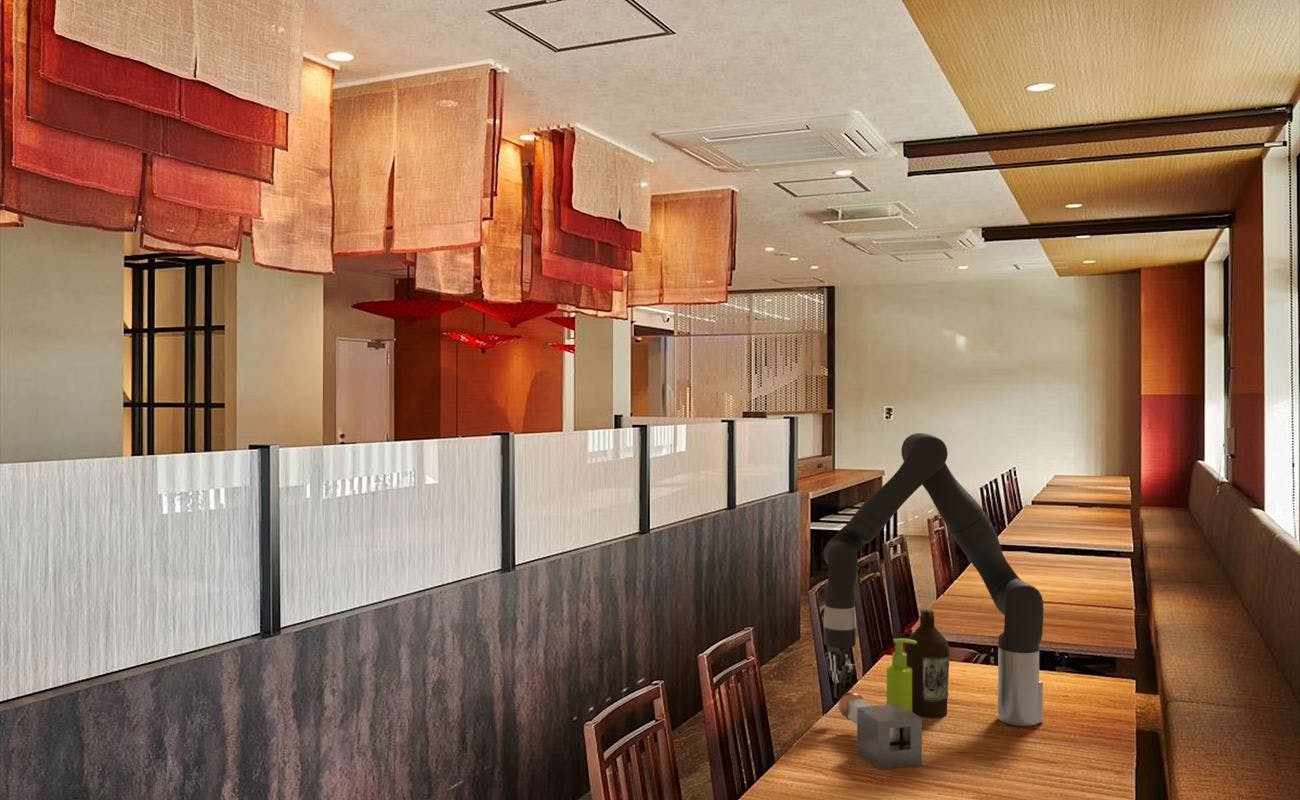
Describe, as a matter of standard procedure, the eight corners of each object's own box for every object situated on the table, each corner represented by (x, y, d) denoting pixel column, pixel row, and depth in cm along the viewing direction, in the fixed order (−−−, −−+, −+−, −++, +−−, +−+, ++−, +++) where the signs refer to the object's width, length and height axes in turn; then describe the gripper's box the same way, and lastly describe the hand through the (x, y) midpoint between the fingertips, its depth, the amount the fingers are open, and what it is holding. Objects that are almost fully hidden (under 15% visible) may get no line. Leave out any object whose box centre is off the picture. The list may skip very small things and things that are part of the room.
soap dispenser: (917, 728, 243) (917, 642, 243) (886, 726, 244) (887, 641, 244) (916, 720, 248) (916, 637, 248) (886, 718, 250) (886, 635, 250)
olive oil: (896, 708, 258) (896, 607, 258) (934, 704, 261) (934, 604, 261) (919, 721, 248) (919, 616, 248) (958, 716, 251) (958, 613, 251)
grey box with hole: (899, 749, 229) (899, 703, 228) (921, 765, 219) (921, 717, 219) (857, 753, 226) (857, 707, 226) (878, 769, 216) (878, 721, 216)
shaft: (862, 716, 242) (862, 691, 242) (904, 745, 222) (904, 717, 222) (838, 718, 240) (838, 693, 240) (878, 748, 221) (878, 719, 221)
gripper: (866, 630, 241) (866, 705, 241) (842, 618, 254) (842, 689, 254) (836, 632, 239) (836, 707, 239) (814, 619, 252) (813, 691, 252)
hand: (839, 697), depth 247 cm, fingers closed
